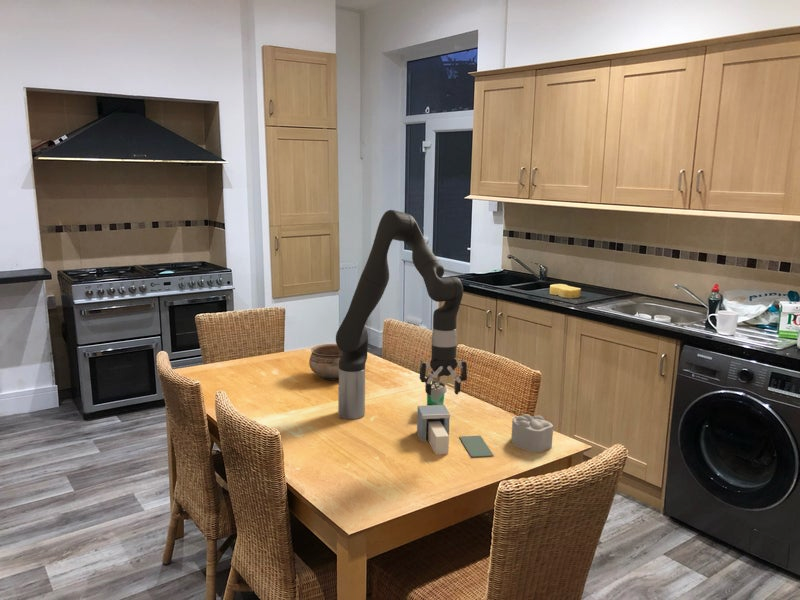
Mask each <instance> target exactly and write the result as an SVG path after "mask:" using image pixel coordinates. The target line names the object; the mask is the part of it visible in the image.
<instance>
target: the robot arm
mask: <svg viewBox="0 0 800 600" xmlns="http://www.w3.org/2000/svg"><path fill="white" fill-rule="evenodd" d="M415 219H416V218H415V217H414V216H412V215H411V214H409V213H406V212H402V211H399V210H394V209H389V210H386V211H385V212H384V213H383V215H382V217H381V219H380V221H379V223H378V226H377V229H376V233H375V236H374V240H373V244H372V247H371V250H370V253H369V255H368V258H367V260H366V263H365V266H364V268H363V270H362V272H361V274H360V277H359V279H358V283H357V285H356V289H355V291H354V293H353V295H352V299H351V302H350V305H349V308H348V310H347V312H346V315H345V316H344V318H343V320H342V322H341V324H340V326H339V328H338V330H337V331H336V333H335V344H337V346H338V348H339V349H340V350H341V351H343V353H342V356H341V358H340V360H339V379H338V387H337V388H338V391H337V392H338V393H337V394H338V396H337V397H338V399H337V400H338V402H337V403H338V404H337V405H338V406H337V409H338V411H337V412H338V418H339V419H345V420H356V419H360V418H363V417H364V416H365V415H366V414H365V413H366V408H365V407H366V363H367V360H368V352H369V350H368V348H369V347H368V346H369V340H368V339H369V334H368V329H367V328H366V323H367V321H368V319H369V317H370V315H371V314H372V313H373V311H374V310H375V308H376V307H377V306H378V304H379V303H380V301H381V299H382V298H383V295H384V293H385V291H386V288H387V286H388V285H389V284H388V283H389V280H390V269H389V263H388V262H389V261H388V253H389V249H390V246H391V244H392V241H394V240H395V241H399V242H404V243H405V244H406V245H407V246H408V247H409V248H410V250H411V253H412V254H411V260H412V262H413V265H414V267H415V269H416V270H417V272H418V273H419V274H420V276H421V278H422V279H423V282H424V284H425V289H426V292H427V295H428V296H429V298H430V299H432V301H434V302H436V303H442V302H444V304H443V305H442V306H440V307H438V308H436V309H434V311H433V314H432V315H433V316H432V317H433V318H432V332H431V342H430V343H431V357H430V358H431V359H430V361H428V362H427V361H424V360H422V361H420V369H419V380H420V382H421V383H424V384H425V386H424V389H425V393H426V395H427V394H428V396H429V395H431V384H432V380H436V378H437V376H438V377H443V376H446V377H449V376H452V377H453V378H454V380H455V381H454V391H453V392H454V394H455V395H459V393H461V382H464V381H467V380H468V367H467V366H468V365H467V362H466V361H465V360H464V359H461V360H458V361H457V347H458V345H457V342H458V333H457V322H458V321H457V320H458V318H457V315H458V313H459V309H460V307H461V303H462V300H463V295H464V286H463V282H462V281H461V279H460V278H459V277H457V276H445V277H444V274H445V268H444V266H443V265H442V263H441V262H440V260H439V259H438V258H437V256H436V255H435V253H434V252H433V251H432V249H431V248H430V246H429V245H428V243H427V241H426V239H425V237H424V234H423V233H422V231H421V229H420V227H419V224H418V222H417V221H416V220H415ZM429 367H430V368H431V370H430V371H429V373H428V375H427V374H426V373H427V372H426V371H427V370H428V369H429ZM458 367H459V368H460V376H459V375H458V374H457V373H456V371H455V370H456V368H458ZM426 375H427V377H426Z"/></svg>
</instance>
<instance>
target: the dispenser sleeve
mask: <svg viewBox="0 0 800 600" xmlns="http://www.w3.org/2000/svg"><path fill="white" fill-rule="evenodd" d="M416 413H417V417H416V418H417V421H416V422H417V423H416V432H417V435H418V436H419V439H420V441H421V442H427V433H428V422H433V421H440V422H441V423H442V425H443V427H444V429H445V430H446V432H447V434H448V435H449V436H450V419H451V413H450V412H449V410H448V408H447V407H446V405H445V404H443V405H427V404H426V405H417V412H416Z"/></svg>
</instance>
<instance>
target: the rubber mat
mask: <svg viewBox="0 0 800 600" xmlns="http://www.w3.org/2000/svg"><path fill="white" fill-rule="evenodd" d="M459 439H460V441H461V443H462V444H463V446H464V447H465V449H466V451H467V452H468V454H469V456H470V458H474V459H475V458H491V457H492V458H493V457H495V454H494V453H493V452H492V450H491V449H490V447H489V446H488V445H487V443H486V441H485V440H484V439H483V437H482V436H481V435H466V436H465V435H464V436H463V435H461V436H460V435H459Z"/></svg>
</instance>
